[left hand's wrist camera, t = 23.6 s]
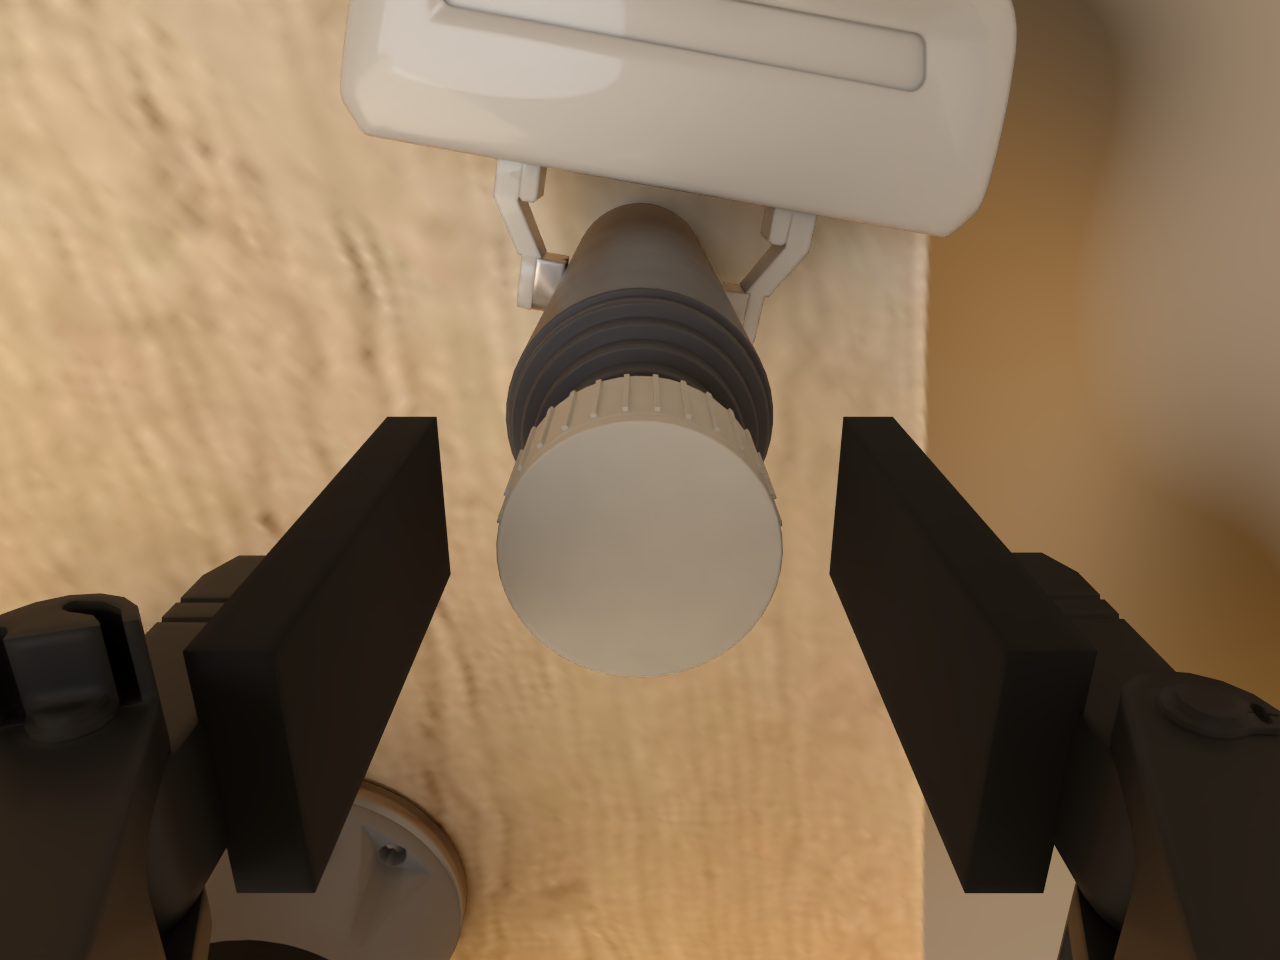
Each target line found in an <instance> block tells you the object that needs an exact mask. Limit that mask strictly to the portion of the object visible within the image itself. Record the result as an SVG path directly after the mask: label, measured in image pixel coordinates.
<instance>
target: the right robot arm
mask: <svg viewBox="0 0 1280 960" xmlns="http://www.w3.org/2000/svg"><path fill="white" fill-rule="evenodd" d="M1016 45H1017V24H1016V16H1015V10H1014V6H1013V3H1012V0H350V2H349V8H348V15H347V22H346V30H345V37H344V45H343V55H342V66H341V80H340V93H341V98H342V100H343V103H344V105H345V106H346V108H347V110H348V111H349V113H350V115H351V116H352V118H353V119H354V121H355V122H356V124H357V125H358V127H359V128H360V130H361V131H362V132H363V133H364V134H366V135H368V136H373V137H378V138H384V139H389V140H395V141H401V142H406V143H412V144H418V145H423V146H429V147H435V148H440V149H446V150H452V151H457V152H463V153H469V154H474V155H480V156H486V157H491V158H497V169H496V179H495V189H494V198H495V201H496V203H497V205H498V208H499V210H500V213H501V215H502V217H503V220H504V222H505V224H506V227H507V229H508V232H509V234H510V236H511V239H512V241H513V243H514V246H515V248H516V250H517V253H518V254H519V255H522V260H521V268H520V277H519V286H518V295H517V307H521V308H526V309H533V310H539V311H545V309H546V307H547V305H548V303H549V301H550V299H551V297H552V296H553V294H554V292H555V290H556V288H557V286H558V284H559V282H560V280H561V278H562V276H563V274H564V272H565V271H566V269H567V267H568V263H569V256H565V255H560V254H554V253H549V252H546V251H547V250H546V248H545V245H544V243H543V240H542V237H541V235H540V232H539V230H538V227H537V224H536V222H535V219H534V217H533V214H532V211H531V209H530V206H529V204H528V202H535V201H536V200H538V199H539V198H540V197H542V196H543V195H544V187H545V180H546V172H547V167H548V168H554V169H559V170H565V171H571V172H576V173H582V174H588V175H593V176H599V177H605V178H610V179H616V180H622V181H627V182H633V183H639V184H644V185H650V186H656V187H661V188H667V189H673V190H678V191H684V192H690V193H695V194H701V195H707V196H712V197H718V198H724V199H729V200H735V201H741V202H746V203H752V204H758V205H763V206H766V208H765V213H764V218H763V223H762V228H761V235H762V236H763V237H764V238H765V239H766V240H767V241H768V242H770V243H771V244H773V245H772V246H771V247H770V248H769V249H768V251H767V252H766V253H765V254H764V255H763V257H762V258H761V259H760V260H759V261H758V263H757V264H756V265H755V266H754V267H753V269H752V270H751V271H750V272H749V273H748V275H747V276H746V277H745V278H744V279H743V281H742V282H741V283H740V284H741V285H737V284H730V283H723V282H720V283H721V285H722V287H723V289H724V291H725V293H726V295H727V297H728V299H729V301H730V303H731V304H732V306H733V308H734V310H735V312H736V314H737V316H738V318H739V320H740V322H741V324H742V326H743V328H744V330H745V331H746V333H747V335H748V337H749V339H750V341H751V343H752V344H753V342H754V340H755V337H756V332H757V328H758V323H759V318H760V314H761V309H762V305H763V300H764V297H768V296H769V295H770V294H771V293H772V292H773V291H774V290H775V289H776V287H777V286H778V285H779V284H780V283H781V282H782V281H783V280H784V279H785V277H786V276H787V275H788V274H789V273H790V272H791V271H792V270H793V269H794V267H795V266H796V265H797V264H798V263H799V262H800V261H801V260H802V258H803V257H804V256H805V255H806V254H807V253H808V252H809V248H810V244H811V240H812V235H813V231H814V227H815V223H816V219H817V215H820V216H826V217H831V218H837V219H843V220H848V221H854V222H860V223H865V224H871V225H877V226H882V227H888V228H894V229H899V230H905V231H911V232H916V233H922V234H928V235H934V236H940V237H945V236H948V235H950V234H952V233H953V232H954V231H956V230H957V229H958V228H959V227H961V226H962V225H963V224H964V223H965V222H966V221H967V220H968V219H970V218H971V217H972V216H973V215H974V214H975V213H976V212H977V211H978V209H979V208H980V206H981V204H982V202H983V199H984V196H985V193H986V190H987V187H988V184H989V181H990V177H991V174H992V170H993V166H994V162H995V158H996V154H997V151H998V147H999V142H1000V138H1001V133H1002V129H1003V124H1004V120H1005V114H1006V109H1007V104H1008V99H1009V94H1010V87H1011V81H1012V75H1013V69H1014V62H1015V55H1016Z"/></svg>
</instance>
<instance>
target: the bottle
mask: <svg viewBox="0 0 1280 960" xmlns="http://www.w3.org/2000/svg"><path fill="white" fill-rule="evenodd" d="M624 374H630V376H652V377H653V374H657V375H658V377H659V378H665V379H670V380H673V381H677V382H681V380H683V381H686V384H687V385H689V386H691V387H693V388H695V389H697V390H700V391H702V392H703V393H705V394H706V392H709V393H711V394H712V398H713V399H715V400H716V401H717V402H718V403H719V404H721V405H722V406H723V407H724V408H726V409H727V410H728V409H729V408H730V409H731V410H732V411H733V413H734V416H735V419H736V420H737V421H738V422H739V424H740V425H741V427H742V428H743V429H744V430H745V429H748V430H749V432H750V434H751V437H752V440H753V443H754V445H755V448H756V451H757V453H758V452H760V454H761V457H762V460H763V462H764V460H765V457H766V454H767V451H768V447H769V444H770V440H771V434H772V426H773V403H772V396H771V389H770V386H769V382H768V379H767V375H766V372H765V370H764V368H763V365H762V363H761V361H760V359H759V357H758V355H757V353H756V351H755V349H754V347H753V345H752V343H751V341H750V339H749V337H748V335H747V333H746V331H745V330H744V328H743V326H742V324H741V322H740V320H739V318H738V316H737V314H736V312H735V310H734V308H733V306H732V304H731V303H730V301H729V299H728V297H727V295H726V293H725V291H724V289H723V287H722V285H721V283H720V281H719V279H718V277H717V276H716V274H715V272H714V270H713V268H712V266H711V264H710V262H709V260H708V258H707V256H706V254H705V252H704V250H703V249H702V247H701V245H700V243H699V241H698V239H697V237H696V236H695V234H694V232H693V231H692V230H691V228H690V227H689V226H688V225H687V224H686V223H685V222H684V221H683V220H682V219H681V218H680V217H678V216H677V215H676V214H674V213H673V212H671V211H669V210H667V209H665V208H662V207H659V206H656V205H651V204H642V203H639V204H629V205H623V206H620V207H617V208H615V209H613V210H611V211H609V212H607V213H605V214H604V215H602V216H601V217H600V218H598V219H597V220H596V221H595V222H594V223H593V224H592V225H591V226H590V228H589V229H588V230H587V231H586V233H585V235H584V236H583V238H582V240H581V242H580V244H579V246H578V247H577V249H576V251H575V253H574V255H573V257H572V259H571V261H570V263H569V265H568V267H567V269H566V271H565V272H564V274H563V276H562V278H561V280H560V282H559V284H558V286H557V288H556V290H555V292H554V294H553V296H552V297H551V299H550V301H549V303H548V305H547V307H546V309H545V311H544V313H543V315H542V317H541V319H540V321H539V322H538V324H537V326H536V328H535V330H534V332H533V334H532V336H531V338H530V340H529V342H528V344H527V346H526V347H525V349H524V351H523V353H522V355H521V357H520V359H519V362H518V364H517V366H516V368H515V370H514V373H513V376H512V380H511V383H510V386H509V391H508V398H507V405H506V423H507V432H508V439H509V443H510V446H511V450H512V454H513V456H514V459H515V461H516V460H517V458H518V455H519V452H520V450H521V449H522V450H524V448H525V445H526V442H527V439H528V437H529V434H530V431H531V429H532V428H533V426H534V427H536V428H537V426H538V425H539V424H540V423H541V422H542V420H543V419H544V418H545V417H546V415H547V411H548V409H549V408H550V407H551V406H552V407H553V408H555V407H556V406H557V405H558V404H559V403H561V402H562V401H564V400H565V399H567V398H568V397H569V395H570V392H572V391H574V390H575V391H576V392H578V391H580V390H582V389H584V388H586V387H588V386H591V385H593V384H595V383H596V380H599V379H601V380H602V381H606V380H610V379H614V378H619V377H624Z"/></svg>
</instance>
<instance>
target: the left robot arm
mask: <svg viewBox="0 0 1280 960" xmlns="http://www.w3.org/2000/svg"><path fill="white" fill-rule="evenodd" d="M449 577H450V562H449V551H448V540H447V529H446V518H445V506H444V495H443V484H442V473H441V462H440V451H439V439H438V428H437V417H387V418H386V419H385V420H384V421H383V422H382V424H381V425H380V426H379V427H378V428H377V429H376V430H375V432H374V433H373V434H372V435H371V436H370V437H369V438H368V440H367V441H366V442H365V443H364V444H363V445H362V446H361V448H360V449H359V450H358V451H357V452H356V453H355V454H354V456H353V457H352V458H351V459H350V460H349V461H348V462H347V464H346V465H345V466H344V467H343V468H342V469H341V470H340V472H339V473H338V474H337V475H336V476H335V477H334V479H333V480H332V481H331V482H330V483H329V484H328V485H327V487H326V488H325V489H324V490H323V491H322V492H321V493H320V495H319V496H318V497H317V498H316V499H315V500H314V501H313V503H312V504H311V505H310V506H309V507H308V508H307V509H306V511H305V512H304V513H303V514H302V515H301V516H300V517H299V519H298V520H297V521H296V522H295V523H294V524H293V525H292V527H291V528H290V529H289V530H288V531H287V532H286V533H285V535H284V536H283V537H282V538H281V539H280V540H279V541H278V543H277V544H276V545H275V546H274V547H273V548H272V549H271V551H270V552H269V553H268V554H267V555H266V556H237V557H236V558H234V559H232V560H230V561H228V562H226V563H225V564H223V565H221V566H219V567H217V568H215V569H214V570H212V571H210V572H208V573H206V574H204V575H203V576H202V577H201V578H200V579H199V580H198V581H197V582H196V583H195V584H194V585H193V586H192V587H191V588H190V589H189V590H188V591H187V592H186V593H185V594H184V595H183V596H182V597H181V602H180V603H175V605H174V606H173V607H172V608H171V609H170V610H169V611H168V612H167V613H166V614H165V615H164V616H163V617H162V622H157V623H156V624H155V625H154V626H153V627H152V628H151V629H150V630H149V631H148V632H147V633H146V634H144V630H143V626H142V622H141V618H140V614H139V609H138V606H137V605H135V604H134V603H132V602H131V601H129V600H128V599H126V598H125V597H119V596H113V595H107V594H83V595H69V596H64V597H59V598H54V599H49V600H45V601H40V602H35V603H32V604H29V605H27V606H24V607H21V608H18V609H15V610H12V611H10V612H7V613H4V614H1V615H0V960H449V959H450V957H451V956H452V954H453V952H454V950H455V947H456V945H457V942H458V939H459V935H460V931H461V926H462V922H463V918H464V913H465V909H466V901H467V885H466V878H465V873H464V870H463V866H462V864H461V861H460V859H459V856H458V854H457V852H456V850H455V849H454V847H453V845H452V844H451V842H450V841H449V839H448V838H447V836H446V835H445V834H444V833H443V831H442V830H441V829H440V828H439V827H438V826H437V825H436V824H435V823H434V822H433V821H432V820H431V819H430V818H429V817H428V816H427V815H426V814H424V813H423V812H422V811H421V810H420V809H418V808H417V807H415V806H414V805H413V804H411V803H410V802H408V801H407V800H405V799H403V798H401V797H400V796H398V795H396V794H394V793H392V792H390V791H388V790H386V789H383V788H381V787H379V786H376V785H373V784H371V783H368V782H365V781H363V779H364V777H365V774H366V772H367V770H368V767H369V765H370V763H371V760H372V758H373V756H374V753H375V751H376V748H377V746H378V744H379V741H380V739H381V737H382V734H383V732H384V730H385V727H386V725H387V723H388V720H389V718H390V716H391V713H392V711H393V708H394V706H395V704H396V701H397V699H398V697H399V694H400V692H401V690H402V687H403V685H404V683H405V680H406V678H407V675H408V673H409V671H410V668H411V666H412V664H413V661H414V659H415V657H416V654H417V652H418V650H419V647H420V645H421V642H422V640H423V638H424V635H425V633H426V631H427V628H428V626H429V624H430V621H431V619H432V617H433V614H434V612H435V610H436V607H437V605H438V602H439V600H440V598H441V595H442V593H443V591H444V588H445V586H446V584H447V581H448V579H449ZM830 577H831V579H832V581H833V584H834V586H835V588H836V591H837V593H838V595H839V598H840V600H841V602H842V605H843V607H844V610H845V612H846V614H847V617H848V619H849V621H850V624H851V626H852V628H853V631H854V633H855V635H856V638H857V640H858V642H859V645H860V647H861V650H862V652H863V654H864V657H865V659H866V661H867V664H868V666H869V668H870V671H871V673H872V675H873V678H874V680H875V683H876V685H877V687H878V690H879V692H880V694H881V697H882V699H883V701H884V704H885V706H886V708H887V711H888V713H889V716H890V718H891V720H892V723H893V725H894V727H895V730H896V732H897V734H898V737H899V739H900V741H901V744H902V746H903V748H904V751H905V753H906V756H907V758H908V760H909V763H910V765H911V767H912V770H913V772H914V774H915V777H916V779H917V781H918V784H919V786H920V789H921V791H922V793H923V796H924V798H925V800H926V803H927V805H928V807H929V810H930V812H931V814H932V817H933V819H934V821H935V824H936V826H937V829H938V831H939V833H940V836H941V838H942V840H943V843H944V845H945V847H946V850H947V852H948V854H949V857H950V859H951V861H952V864H953V866H954V869H955V871H956V873H957V876H958V878H959V880H960V883H961V885H962V887H963V890H964V892H965V893H1043V892H1044V888H1045V883H1046V878H1047V874H1048V870H1049V865H1050V861H1051V857H1052V852H1053V848H1054V845H1055V847H1056V848H1057V850H1058V852H1059V854H1060V855H1061V857H1062V859H1063V860H1064V862H1065V864H1066V866H1067V867H1068V869H1069V871H1070V873H1071V874H1072V876H1073V878H1074V879H1075V881H1076V884H1075V888H1074V892H1073V896H1072V900H1071V905H1070V909H1069V913H1068V917H1067V921H1066V925H1065V929H1064V933H1063V938H1062V942H1061V946H1060V950H1059V954H1058V958H1057V960H1280V711H1279V710H1277V709H1276V708H1274V707H1272V706H1271V705H1269V704H1268V703H1266V702H1265V701H1263V700H1262V699H1260V698H1259V697H1257V696H1256V695H1254V694H1252V693H1249V692H1247V691H1245V690H1242V689H1240V688H1237V687H1235V686H1233V685H1230V684H1228V683H1225V682H1223V681H1220V680H1216V679H1212V678H1208V677H1203V676H1199V675H1195V674H1191V673H1182V672H1175V671H1174V670H1173V669H1172V668H1171V667H1170V666H1169V664H1168V663H1167V662H1165V660H1164V659H1163V658H1162V657H1161V656H1160V655H1159V654H1158V653H1157V652H1156V651H1155V650H1154V649H1153V648H1152V647H1151V646H1150V645H1149V644H1148V643H1147V642H1146V641H1145V640H1144V639H1143V638H1142V637H1141V636H1140V635H1139V634H1138V633H1137V632H1136V631H1135V630H1134V629H1133V628H1132V627H1131V626H1130V625H1129V624H1128V623H1127V622H1126V621H1125V620H1124V619H1119V614H1118V613H1117V612H1116V611H1115V610H1114V609H1113V608H1112V607H1111V606H1110V605H1109V604H1108V603H1107V602H1106V601H1105V600H1100V594H1099V593H1098V592H1097V591H1096V590H1095V589H1094V588H1093V587H1092V586H1091V585H1090V584H1089V583H1088V582H1087V581H1086V580H1085V579H1084V578H1083V577H1082V576H1081V575H1080V574H1079V573H1078V572H1076V571H1074V570H1073V569H1071V568H1069V567H1067V566H1065V565H1063V564H1062V563H1060V562H1058V561H1056V560H1054V559H1052V558H1051V557H1049V556H1047V555H1045V554H1043V553H1011V552H1010V551H1009V549H1008V548H1007V547H1006V546H1005V545H1004V544H1003V543H1002V541H1001V540H1000V539H999V538H998V537H997V536H996V535H995V533H994V532H993V531H992V530H991V529H990V528H989V527H988V525H987V524H986V523H985V522H984V521H983V520H982V519H981V517H980V516H979V515H978V514H977V513H976V512H975V511H974V509H973V508H972V507H971V506H970V505H969V504H968V503H967V501H966V500H965V499H964V498H963V497H962V496H961V495H960V493H959V492H958V491H957V490H956V489H955V488H954V487H953V485H952V484H951V483H950V482H949V481H948V480H947V479H946V477H945V476H944V475H943V474H942V473H941V472H940V470H939V469H938V468H937V467H936V466H935V465H934V464H933V462H932V461H931V460H930V459H929V458H928V457H927V456H926V454H925V453H924V452H923V451H922V450H921V449H920V448H919V446H918V445H917V444H916V443H915V442H914V441H913V440H912V438H911V437H910V436H909V435H908V434H907V433H906V432H905V430H904V429H903V428H902V427H901V426H900V425H899V424H898V422H897V421H896V420H895V419H894V418H893V417H843V428H842V439H841V451H840V462H839V473H838V484H837V495H836V506H835V518H834V529H833V540H832V551H831V562H830Z"/></svg>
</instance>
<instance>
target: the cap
mask: <svg viewBox="0 0 1280 960" xmlns="http://www.w3.org/2000/svg"><path fill="white" fill-rule="evenodd" d="M504 496H506V497H505V500H504V503H503V505H502V508H501V511H500V514H499V516H498V521H497V523H499V527H498V535H497V563H498V569H499V575H500V579H501V582H502V585H503V588H504V591H505V593H506V595H507V598H508V600H509V602H510V604H511V606H512V608H513V609H514V611H515V612H516V614H517V615H518V617H519V618H520V620H521V621H522V623H523V624H524V625H525V626H526V627H527V628H528V629H529V631H530V632H531V633H532V634H533V635H534V636H535V637H536V638H537V639H539V640H540V641H541V642H542V643H543V644H544V645H545V646H547V647H548V648H550V649H551V650H552V651H554V652H555V653H557V654H558V655H560V656H561V657H563V658H565V659H567V660H569V661H571V662H573V663H575V664H577V665H580V666H582V667H585V668H588V669H590V670H593V671H597V672H601V673H605V674H609V675H616V676H623V677H655V676H664V675H669V674H674V673H679V672H682V671H685V670H688V669H692V668H695V667H697V666H699V665H702V664H704V663H706V662H708V661H711V660H712V659H714V658H716V657H717V656H719V655H721V654H722V653H724V652H726V651H727V650H728V649H730V648H731V647H732V646H733V645H735V644H736V643H737V642H739V641H740V640H741V639H742V638H743V637H744V636H745V635H746V634H747V633H748V632H749V631H750V630H751V629H752V627H753V626H754V625H755V624H756V622H757V621H758V620H759V618H760V617H761V616H762V614H763V612H764V611H765V609H766V607H767V606H768V604H769V602H770V600H771V598H772V596H773V593H774V591H775V588H776V586H777V582H778V578H779V574H780V571H781V563H782V554H783V549H782V533H781V528H780V526H782V521H781V518H780V515H779V512H778V510H777V507H776V504H775V501H774V499H776V495H775V492H774V490H773V487H772V484H771V482H770V479H769V476H768V473H767V471H766V468H765V465H764V463H763V460H762V457H761V454H760V452H758V453H757V451H756V448H755V445H754V443H753V440H752V437H751V434H750V432H749V430H748V429H745V430H744V429H743V428H742V427H741V425H740V424H739V422H738V421H737V420H736V419H735V416H734V413H733V411H732V410H731V409H730V408H729V409H728V410H727V409H726V408H724V407H723V406H722V405H721V404H719V403H718V402H717V401H716V400H715V399H713V398H712V394H711V393H709V392H706V394H705V393H703V392H702V391H700V390H697V389H695V388H693V387H691V386H689V385H687V384H686V381H683V380H681V382H677V381H673V380H670V379H665V378H659V377H658V375H657V374H653V377H652V376H630V374H624V377H619V378H614V379H610V380H606V381H602V380H601V379H599V380H596V383H595V384H593V385H591V386H588V387H586V388H584V389H582V390H580V391H578V392H576V391H575V390H574V391H572V392H570V395H569V397H568V398H567V399H565V400H564V401H562V402H561V403H559V404H558V405H557V406H556V407H555V408H553V407H552V406H551V407H550V408H549V409H548V411H547V415H546V417H545V418H544V419H543V420H542V422H541V423H540V424H539V425H538V426H537V428H536V427H534V426H533V428H532V429H531V431H530V434H529V437H528V439H527V442H526V445H525V448H524V450H522V449H521V450H520V452H519V455H518V458H517V460H516V463H515V466H514V468H513V471H512V474H511V476H510V479H509V482H508V485H507V487H506V490H505V493H504Z"/></svg>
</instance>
